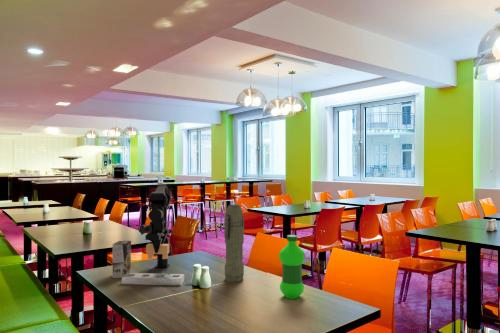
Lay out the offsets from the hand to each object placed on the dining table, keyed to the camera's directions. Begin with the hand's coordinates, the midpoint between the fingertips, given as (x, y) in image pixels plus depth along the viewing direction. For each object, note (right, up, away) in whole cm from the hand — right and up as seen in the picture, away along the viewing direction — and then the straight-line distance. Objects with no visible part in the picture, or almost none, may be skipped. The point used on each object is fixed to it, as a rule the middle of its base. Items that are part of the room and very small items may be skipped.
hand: (157, 251), depth 188 cm
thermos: (+36, -13, -2) cm, 39 cm away
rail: (-1, -12, -6) cm, 14 cm away
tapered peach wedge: (0, -3, 0) cm, 3 cm away
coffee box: (-18, -13, +5) cm, 23 cm away
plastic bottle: (+61, -13, -25) cm, 67 cm away
